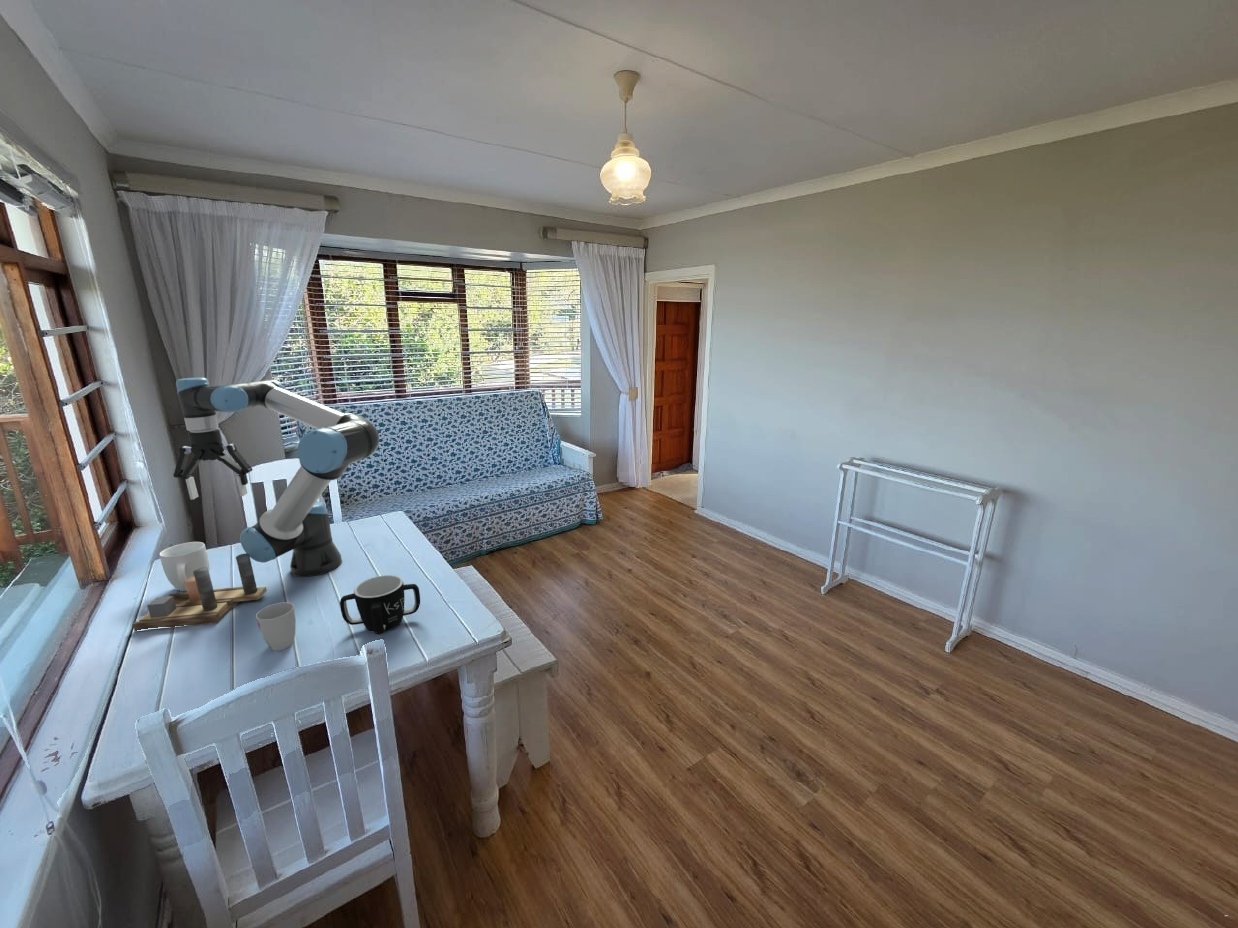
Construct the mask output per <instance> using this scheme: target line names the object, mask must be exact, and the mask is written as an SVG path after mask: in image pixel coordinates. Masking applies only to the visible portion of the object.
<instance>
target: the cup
mask: <svg viewBox="0 0 1238 928" xmlns="http://www.w3.org/2000/svg"><path fill="white" fill-rule="evenodd" d="M295 612H296V611H295V605H294V603H292V602H288V601H286V602H285V601H282V602H276V603H273V604H270V605H267V606H265V607H263V608H261V609H260V610H258V611H257V613H256V614H255V618H256V622H257V625H258V628H259V631H260V633H261V635H262V637H263V640H264V641H265V643H266V644H267V645H268V647H269V649H271V650H272V651H274V652H275V651H277V652H278V651H282V650H286V649H288V648H289V647H291V646H292V645H293V644H294V643H295V642H294V641H295V636H296V625H297V624H296V613H295Z"/></svg>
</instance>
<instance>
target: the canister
mask: <svg viewBox="0 0 1238 928" xmlns="http://www.w3.org/2000/svg"><path fill="white" fill-rule="evenodd" d="M184 582H185V586H186V590H187V591H186V592H187V593H188V597H189V600H190V601H192V602H195V601H200V600H201V599H200V596H199V592H198V588H197V584H196V581H195V577H194V576H193V577H190V578H188V579H186V580H185V581H184Z"/></svg>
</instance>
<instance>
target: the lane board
mask: <svg viewBox="0 0 1238 928" xmlns="http://www.w3.org/2000/svg"><path fill="white" fill-rule="evenodd" d="M239 589H243V586H237V587H236V586H233V587H224V588H215V589H214V588H213V590H214V592H219V591H229V590H239ZM168 596H173V597H174V601H175V605H176V608H178V607H187V606H197V605H202V603H201V602H198V603H189V604H185V602H186V601H188V600H189V597H188V593H187V591H183V592H176V593H169V594H168V595H167V597H168ZM216 602H217V603H225V602H227V604H228V607H227V608H226V609H225V610H224V611H223V612H222V613H221V614H220V615H219V614H218V613H212V614H203V615H194V616H185V617H176V618H166V619H157V620H148V621H139V620H138V621H134V622H132V623H131V624H132V628H133V631H134V632H135V631H137V630H141V629H148V628H158V627H175V626H184V625H193V626H200V625H201V624H202V625H207V624H210V623H211V624H217V623H220V621H222V619H223V618H224V617H225V616H226V615H227V614H229V612H230V611H232V609H233V608H235V606H236V605H237V604H238V603H239V602H240V601H238V602H233V600H232V599H227V600H218V601H216ZM184 627H185V626H184ZM175 628H176V627H175Z"/></svg>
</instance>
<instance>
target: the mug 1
mask: <svg viewBox="0 0 1238 928" xmlns="http://www.w3.org/2000/svg"><path fill="white" fill-rule="evenodd" d="M159 558H160V559H159V560H160V562H161V566H162V570H163V572H164V574H165V577H166V578H167V580H168V582H169V583H170V584H171V585H172V586H173V588H174V589H176V590H177V591H179V590H180V592H187V590H186V586H185V582H184V581H185V580H186V579H188V578H190V577H193V576H194V573H193V571H194V570H196V569H199V568H205V567H206V568H208V571H209V572H210V569H211V568H210V559H209V554H208V552H207V548H206V544H205V543H204V542H201V541H190V542H183V543H179V544H176V545H172V546H169V547H166V548H165V549H163V550H162V551H160V552H159Z"/></svg>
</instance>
